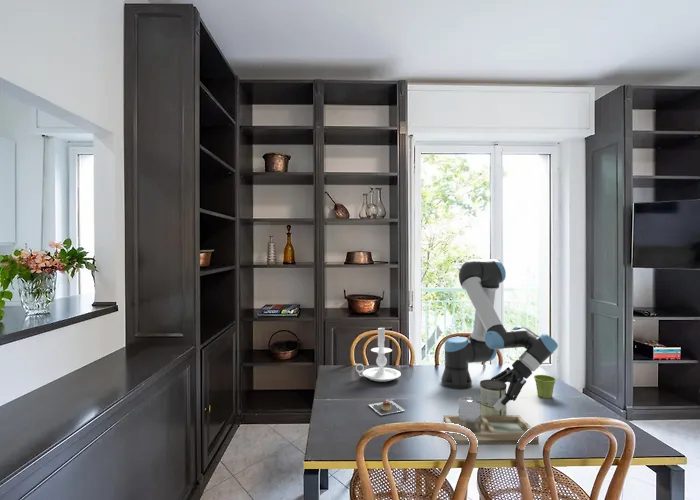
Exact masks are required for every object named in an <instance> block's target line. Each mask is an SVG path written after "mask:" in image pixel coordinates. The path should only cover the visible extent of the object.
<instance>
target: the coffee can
mask: <svg viewBox="0 0 700 500" xmlns="http://www.w3.org/2000/svg"><path fill="white" fill-rule="evenodd" d="M479 385H480V390H479V392H480V395H479V397H480V399H479V400H480V401H481V415H507V404H506V405H505V406H504V407H503V408H502V409H501V410H500V411H499V412H498V411H497V410H496V409H495V408H494V407H493V405H494V404H495V403H496V402H497V401H498V400H499V399H500V398H501V397H502V396H503V395H505V394H506V393H507V383H504V382H501V381H498V380H495V379H494V380H491V379H483V380H480V382H479ZM505 396H506V395H505Z"/></svg>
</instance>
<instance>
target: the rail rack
mask: <svg viewBox="0 0 700 500" xmlns="http://www.w3.org/2000/svg"><path fill="white" fill-rule="evenodd" d="M443 422H445V423H454V424H459V414H453V415H449V414H448V415H443ZM531 427H532V426H531V425H530V424H529V423H528V422H527V421H526V420H525V419H524V418H523V417H522V416H520V415H519V414H515V415H513V414H506V415H481V432H480V433H474V434H475V436H476V438H477V440H478V444H477V445H518V444H517V442H518V440H519V439H520V438H521V436H522V435H523V434H524V433H525V432H526V431H527V430H528V429H530V428H531ZM448 435H449V436H450V435H451V436H452V437H453V438H454V440H455V441H456V443H457V444H456V445H470V444H469V441H468V439H467V437H465V436H463V435H461V434H457V433H448ZM539 437H540V435H539V436H537V437H535V438H534V439H533V440H532V441H531V442H530V443H529V444H528V445H539V444H540V443H539V442H540V441H539V440H540V438H539Z"/></svg>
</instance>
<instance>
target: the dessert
mask: <svg viewBox="0 0 700 500" xmlns="http://www.w3.org/2000/svg"><path fill="white" fill-rule="evenodd" d="M391 403H392V404H391ZM381 404H382V405H381ZM374 405H377V406H381V407H380V410H382V411H383V412H385V411H386V412H388V411H389V410H390V411H392V405H393V406H394V405H395V406H396V408H397V409H398V408H399V409H400V410H398V411H393V412H388V413H382V414H381V413H380V412H379V411H378V410H377V409H376V408H374V407H375V406H374ZM368 406H369V408H371V409H373V411H375V412H376V413H377V414H378V415H380V416H387V415H390V414H391V415H392V414H396V413H402V412H405V411H406V410H405V409H404V408H403V407H402V406H400V405H398V403H396V402H394V401H393V400H389V399H388V398H386V399H385V401H382V402H376V403H370V404H368ZM395 406H394V407H395Z"/></svg>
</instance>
